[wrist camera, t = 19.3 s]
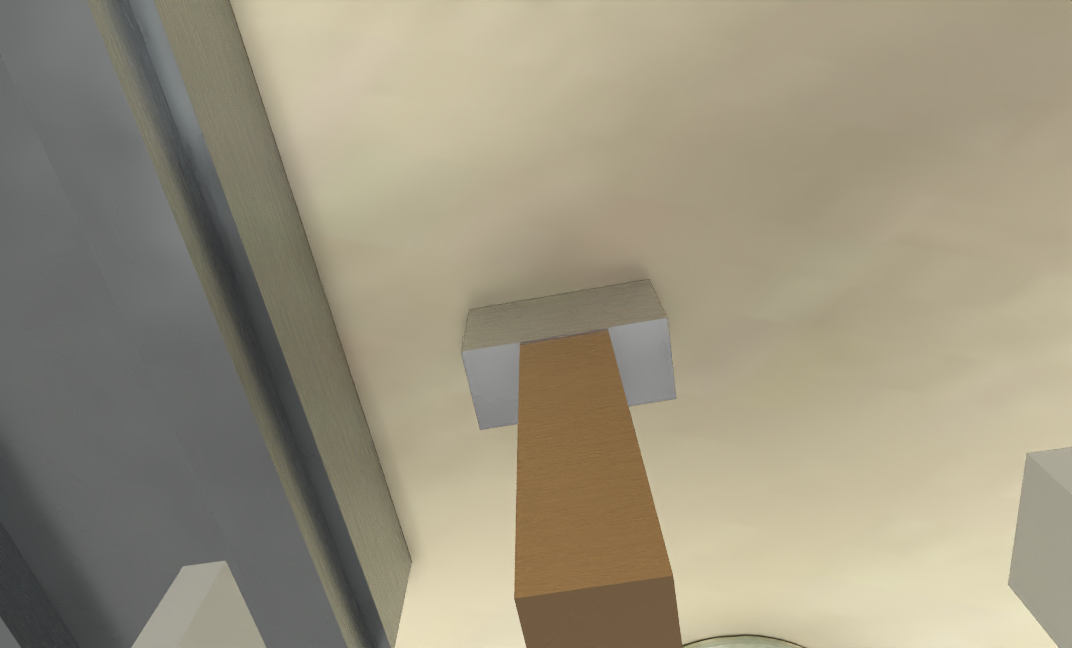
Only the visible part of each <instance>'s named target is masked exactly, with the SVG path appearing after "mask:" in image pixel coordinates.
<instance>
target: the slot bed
mask: <svg viewBox="0 0 1072 648" xmlns="http://www.w3.org/2000/svg"><path fill="white" fill-rule="evenodd" d="M219 561H226V562H227V564H228V567H229V569H230V571H231V573H232V575H233V577H234V579H235V582H236V584H237V586H238V588H239V590H240V592H241V594H242V597H243V599H244V601H245V603H246V605H247V607H248V609H249V611H250V614H251V616H252V618H253V620H254V622H255V624H256V626H257V629H258V631H259V633H260V635H261V637H262V639H263V641H264V644H265V646H266V648H395V643H396V638H397V633H398V628H399V623H400V618H401V613H402V608H403V603H404V598H405V593H406V588H407V583H408V578H409V573H410V568H411V563H412V561H411V558H410V555H409V552H408V549H407V546H406V543H405V540H404V537H403V534H402V531H401V528H400V524H399V521H398V518H397V515H396V512H395V509H394V506H393V503H392V500H391V497H390V494H389V491H388V488H387V485H386V481H385V478H384V475H383V472H382V469H381V466H380V463H379V460H378V457H377V454H376V451H375V448H374V445H373V442H372V438H371V435H370V432H369V429H368V426H367V423H366V420H365V417H364V414H363V411H362V408H361V405H360V402H359V398H358V395H357V392H356V389H355V386H354V383H353V380H352V377H351V374H350V371H349V368H348V365H347V362H346V359H345V355H344V352H343V349H342V346H341V343H340V340H339V337H338V334H337V331H336V328H335V325H334V322H333V319H332V316H331V312H330V309H329V306H328V303H327V300H326V297H325V294H324V291H323V288H322V285H321V282H320V279H319V276H318V272H317V269H316V266H315V263H314V260H313V257H312V254H311V251H310V248H309V245H308V242H307V239H306V236H305V233H304V229H303V226H302V223H301V220H300V217H299V214H298V211H297V208H296V205H295V202H294V199H293V196H292V193H291V189H290V186H289V183H288V180H287V177H286V174H285V171H284V168H283V165H282V162H281V159H280V156H279V153H278V150H277V146H276V143H275V140H274V137H273V134H272V131H271V128H270V125H269V122H268V119H267V116H266V113H265V110H264V107H263V103H262V100H261V97H260V94H259V91H258V88H257V85H256V82H255V79H254V76H253V73H252V70H251V67H250V63H249V60H248V57H247V54H246V51H245V48H244V45H243V42H242V39H241V36H240V33H239V30H238V27H237V24H236V20H235V17H234V14H233V11H232V8H231V5H230V2H229V0H0V648H131V647H132V646H133V644H134V643H135V641H136V640H137V638H138V636H139V635H140V633H141V632H142V630H143V629H144V627H145V625H146V624H147V622H148V621H149V619H150V618H151V616H152V614H153V613H154V611H155V610H156V608H157V607H158V605H159V603H160V602H161V600H162V599H163V597H164V596H165V594H166V592H167V591H168V589H169V588H170V586H171V585H172V583H173V581H174V580H175V578H176V577H177V575H178V574H179V572H180V570H181V569H182V567H183V566H189V565H196V564H204V563H211V562H219Z"/></svg>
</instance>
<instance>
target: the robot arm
mask: <svg viewBox="0 0 1072 648" xmlns="http://www.w3.org/2000/svg"><path fill="white" fill-rule="evenodd" d="M1008 585H1009V586H1010V588H1011V589H1012V590H1013V591H1014V593H1015V594H1016V595H1017V596H1018V598H1019V599H1020V600H1021V601H1022V603H1023V604H1024V605H1025V606H1026V608H1027V609H1028V610H1029V611H1030V612H1031V614H1032V615H1033V616H1034V617H1035V619H1036V620H1037V621H1038V622H1039V624H1040V625H1041V626H1042V627H1043V629H1044V630H1045V631H1046V632H1047V634H1048V635H1049V636H1050V637H1051V639H1052V640H1053V641H1054V642H1055V643H1056V645H1057V646H1058V647H1059V648H1072V447H1069V448H1062V449H1054V450H1047V451H1039V452H1032V453H1027V455H1026V462H1025V469H1024V476H1023V483H1022V490H1021V497H1020V504H1019V511H1018V518H1017V525H1016V532H1015V539H1014V546H1013V553H1012V560H1011V567H1010V574H1009V581H1008ZM131 648H266V646H265V644H264V641H263V639H262V637H261V635H260V633H259V631H258V629H257V626H256V624H255V622H254V620H253V618H252V616H251V614H250V611H249V609H248V607H247V605H246V603H245V601H244V599H243V597H242V594H241V592H240V590H239V588H238V586H237V584H236V582H235V579H234V577H233V575H232V573H231V571H230V569H229V567H228V564H227V562H226V561H219V562H211V563H204V564H196V565H189V566H183V567H182V569H181V570H180V572H179V574H178V575H177V577H176V578H175V580H174V581H173V583H172V585H171V586H170V588H169V589H168V591H167V592H166V594H165V596H164V597H163V599H162V600H161V602H160V603H159V605H158V607H157V608H156V610H155V611H154V613H153V614H152V616H151V618H150V619H149V621H148V622H147V624H146V625H145V627H144V629H143V630H142V632H141V633H140V635H139V636H138V638H137V640H136V641H135V643H134V644H133V646H132V647H131Z"/></svg>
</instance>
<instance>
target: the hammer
mask: <svg viewBox="0 0 1072 648" xmlns="http://www.w3.org/2000/svg"><path fill="white" fill-rule="evenodd" d="M461 354H462V358H463V362H464V366H465V370H466V374H467V378H468V382H469V386H470V390H471V395H472V399H473V403H474V407H475V411H476V415H477V419H478V423H479V427H480V430H483V429H489V428H495V427H501V426H508V425H514V424H518V447H517V495H516V544H515V592H514V599H515V603H516V607H517V611H518V615H519V619H520V623H521V627H522V631H523V635H524V639H525V643H526V647H527V648H682V642H681V634H680V626H679V618H678V610H677V603H676V595H675V587H674V579H673V573H672V570H671V566H670V562H669V558H668V555H667V551H666V547H665V543H664V539H663V536H662V532H661V528H660V524H659V521H658V517H657V513H656V509H655V505H654V502H653V498H652V494H651V490H650V486H649V483H648V479H647V475H646V471H645V468H644V464H643V460H642V456H641V452H640V449H639V445H638V441H637V437H636V433H635V430H634V426H633V422H632V418H631V415H630V411H629V407H628V406H633V405H640V404H646V403H652V402H658V401H665V400H671V399H676V391H675V382H674V373H673V364H672V355H671V346H670V336H669V327H668V318H667V316H666V314H665V312H664V309H663V307H662V305H661V303H660V301H659V299H658V297H657V295H656V293H655V290H654V288H653V286H652V284H651V282H650V280H649V279H647V280H642V281H636V282H630V283H624V284H618V285H612V286H606V287H600V288H594V289H589V290H583V291H577V292H571V293H565V294H559V295H553V296H547V297H541V298H536V299H530V300H524V301H518V302H512V303H506V304H500V305H494V306H488V307H483V308H477V309H471V310H469V314H468V319H467V324H466V330H465V335H464V340H463V345H462V350H461Z"/></svg>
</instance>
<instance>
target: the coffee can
mask: <svg viewBox="0 0 1072 648" xmlns="http://www.w3.org/2000/svg"><path fill="white" fill-rule="evenodd" d="M682 648H802V647H800V646H797V645H795V644H792V643H789V642H786V641H781V640H777V639H772V638H766V637H758V636H738V637H720V638H713V639H708V640H704V641H700V642H696V643H693V644H690V645H687V646H684V647H682Z"/></svg>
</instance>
